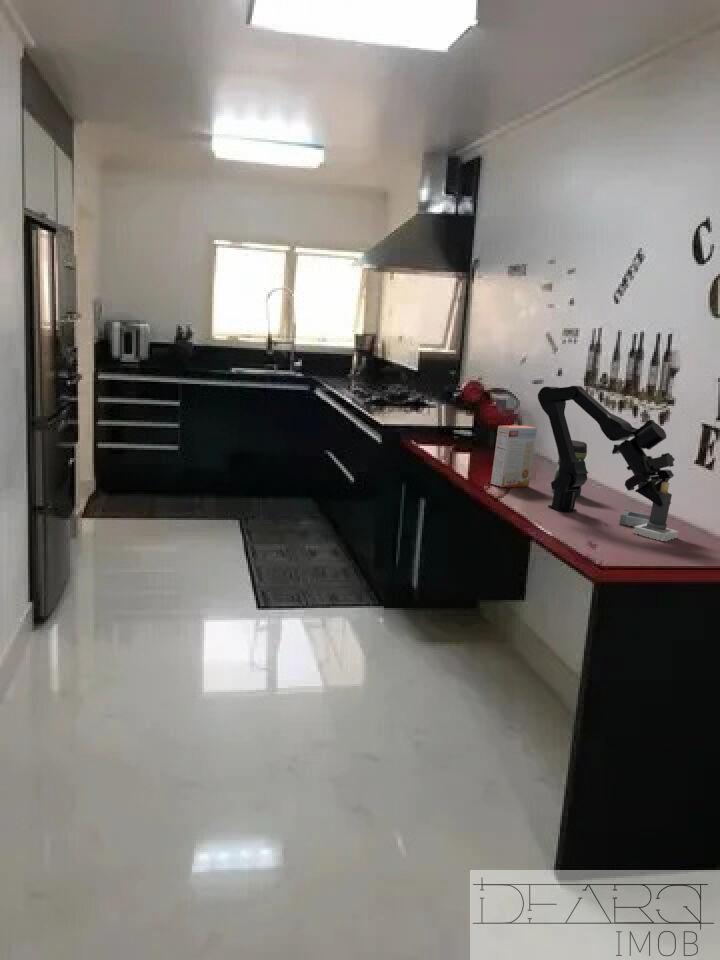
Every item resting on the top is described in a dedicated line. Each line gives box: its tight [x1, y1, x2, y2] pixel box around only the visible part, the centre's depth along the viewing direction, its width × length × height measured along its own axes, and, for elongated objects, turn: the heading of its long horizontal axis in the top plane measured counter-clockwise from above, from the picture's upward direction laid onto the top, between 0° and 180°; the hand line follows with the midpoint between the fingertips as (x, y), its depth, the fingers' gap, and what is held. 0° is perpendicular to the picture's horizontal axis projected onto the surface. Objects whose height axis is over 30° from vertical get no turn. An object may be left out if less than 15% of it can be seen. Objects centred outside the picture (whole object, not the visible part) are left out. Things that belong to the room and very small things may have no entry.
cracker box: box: [490, 425, 538, 488], centre depth 275 cm, size 14×6×21 cm, turn 127°
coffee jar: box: [551, 439, 588, 497], centre depth 273 cm, size 10×8×19 cm
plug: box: [647, 482, 673, 530], centre depth 225 cm, size 5×5×13 cm
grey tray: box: [619, 509, 650, 528], centre depth 237 cm, size 12×9×3 cm
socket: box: [632, 523, 679, 542], centre depth 226 cm, size 9×9×2 cm
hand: (665, 505), depth 224 cm, fingers closed on plug, 4 cm apart
